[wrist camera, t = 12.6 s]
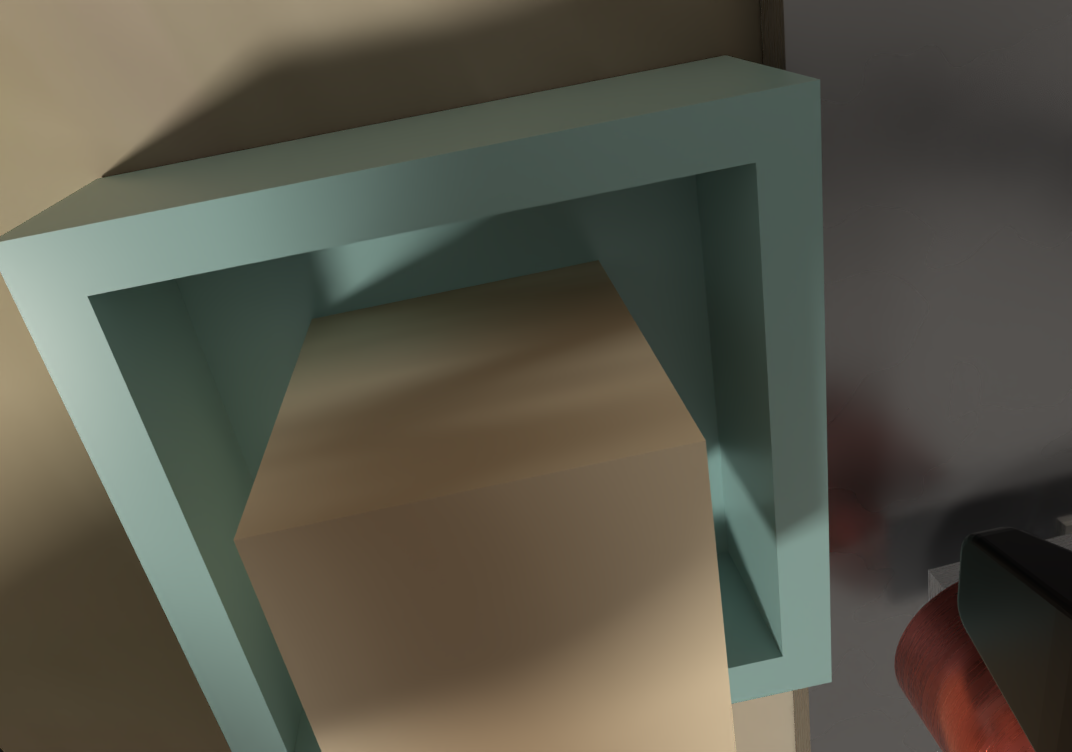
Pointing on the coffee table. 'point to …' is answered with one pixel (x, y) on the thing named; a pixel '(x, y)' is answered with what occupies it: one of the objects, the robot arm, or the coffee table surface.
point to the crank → (955, 674)
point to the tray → (438, 266)
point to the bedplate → (933, 311)
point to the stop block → (492, 530)
